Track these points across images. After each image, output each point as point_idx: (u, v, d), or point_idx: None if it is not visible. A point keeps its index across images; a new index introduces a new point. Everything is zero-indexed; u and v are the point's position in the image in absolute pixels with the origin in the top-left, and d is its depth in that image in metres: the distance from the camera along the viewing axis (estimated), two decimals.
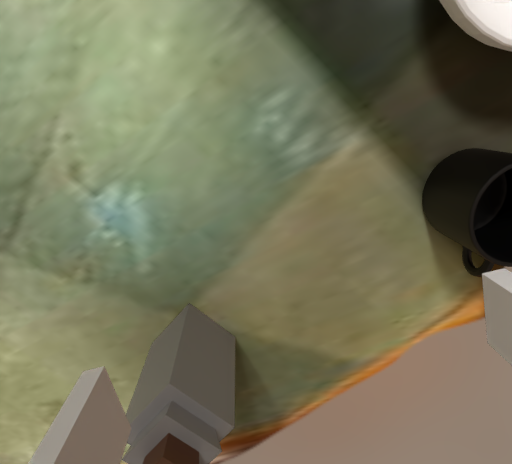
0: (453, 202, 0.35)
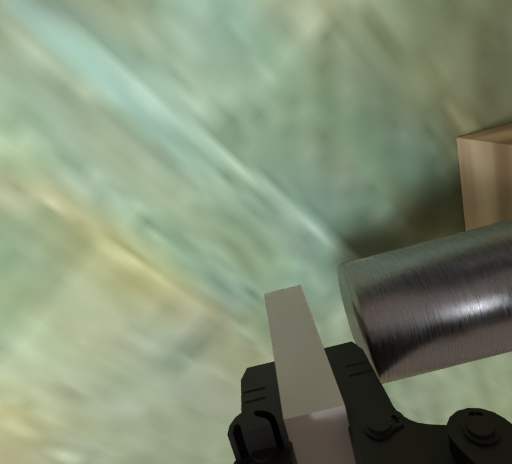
0: None
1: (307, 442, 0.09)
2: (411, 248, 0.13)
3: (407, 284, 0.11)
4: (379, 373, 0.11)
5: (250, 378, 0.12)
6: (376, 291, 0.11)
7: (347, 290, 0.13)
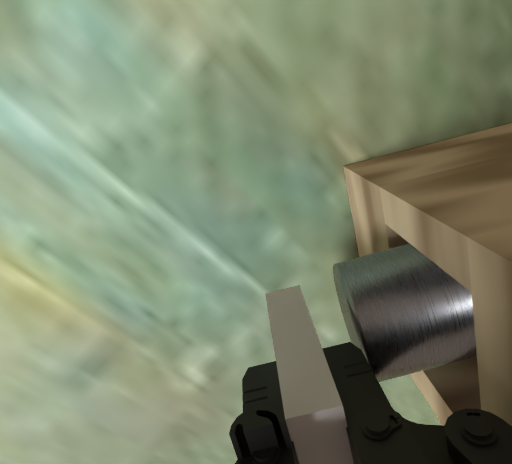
0: None
1: (308, 442, 0.09)
2: (406, 247, 0.13)
3: (401, 283, 0.11)
4: (374, 372, 0.11)
5: (251, 378, 0.12)
6: (370, 291, 0.11)
7: (342, 289, 0.13)
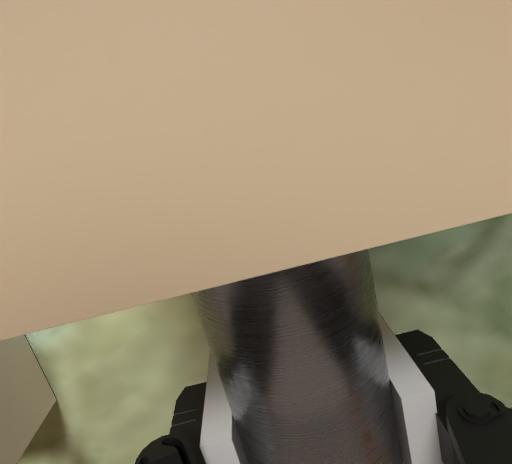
0: None
1: None
2: None
3: None
4: None
5: (186, 398, 0.12)
6: None
7: None
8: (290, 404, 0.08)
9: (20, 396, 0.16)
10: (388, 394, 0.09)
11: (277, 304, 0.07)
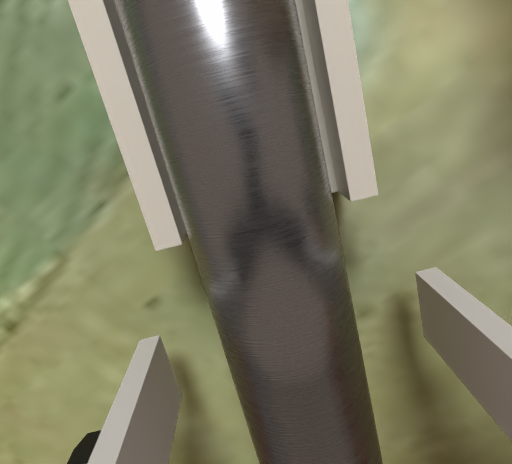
0: None
1: None
2: None
3: None
4: None
5: (83, 447, 0.11)
6: None
7: None
8: (268, 349, 0.10)
9: None
10: (355, 351, 0.11)
11: (256, 267, 0.09)
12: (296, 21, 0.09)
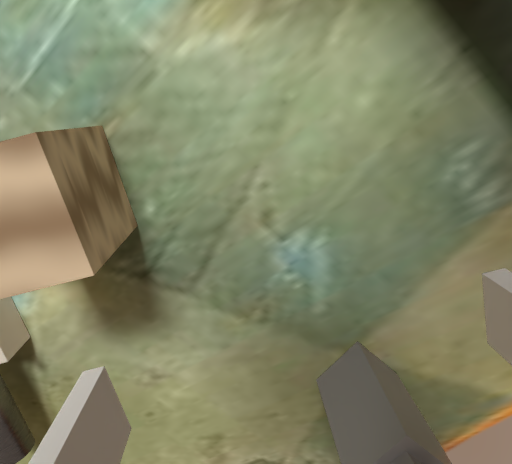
0: None
1: None
2: None
3: None
4: None
5: None
6: None
7: None
8: None
9: (15, 332, 0.40)
10: None
11: None
12: None
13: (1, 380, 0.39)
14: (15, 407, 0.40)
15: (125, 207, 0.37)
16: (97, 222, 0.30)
